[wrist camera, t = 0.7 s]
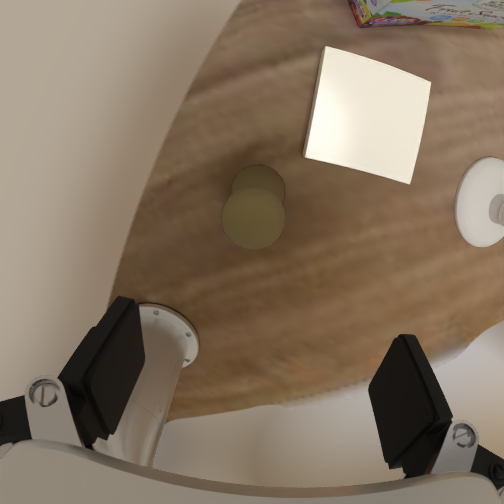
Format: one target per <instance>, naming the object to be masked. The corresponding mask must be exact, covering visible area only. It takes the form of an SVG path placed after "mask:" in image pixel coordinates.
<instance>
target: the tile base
mask: <svg viewBox="0 0 504 504" xmlns="http://www.w3.org/2000/svg"><path fill="white" fill-rule="evenodd" d="M430 86H431V82H429V81H426V80H424V79H422V78H420V77H417V76H415V75H412V74H410V73H408V72H405V71H403V70H400V69H397V68H395V67H392V66H389V65H387V64H384V63H381V62H378V61H375V60H372V59H369V58H366V57H363V56H360V55H356V54H353V53H349V52H346V51H342V50H339V49H335V48H331V47H327V46H326V47H325V48H324V49H323V50H322V53H321V59H320V64H319V70H318V76H317V81H316V87H315V92H314V98H313V103H312V109H311V114H310V119H309V124H308V130H307V135H306V140H305V145H304V150H303V156H304V157H306V158H311V159H315V160H320V161H324V162H329V163H333V164H337V165H341V166H345V167H349V168H353V169H357V170H361V171H365V172H369V173H372V174H376V175H380V176H383V177H387V178H390V179H394V180H397V181H400V182H404V183H407V184H410V182H411V178H412V174H413V170H414V166H415V162H416V158H417V154H418V150H419V145H420V141H421V136H422V131H423V126H424V121H425V116H426V110H427V105H428V99H429V93H430Z"/></svg>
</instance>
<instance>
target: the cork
mask: <svg viewBox="0 0 504 504" xmlns="http://www.w3.org/2000/svg"><path fill="white" fill-rule="evenodd" d="M284 197H285V185H284V182H283V180H282V178H281V176H280V175H279V174H278V173H277V172H276V171H275V170H273V169H272V168H270V167H268V166H264V165H251V166H249V167H246V168H244V169H242V170H241V171H240V172H239V173H238V174H237V175H236V177H235V178H234V180H233V182H232V187H231V196H230V197H229V198H228V200H227V202H226V203H225V205H224V207H223V211H222V215H221V218H222V226H223V229H224V231H225V233H226V235H227V237H228V238H229V239H230V240H231V241H232V242H233V243H234V244H236V245H238V246H240V247H242V248H246V249H250V250H254V249H262V248H265V247H268V246H269V245H271V244H272V243H274V242H275V241H276V240H277V239H278V237H279V236H280V234H281V233H282V231H283V228H284V225H285V211H284V208H283V206H282V203H283V200H284Z"/></svg>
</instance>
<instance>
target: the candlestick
mask: <svg viewBox="0 0 504 504" xmlns="http://www.w3.org/2000/svg"><path fill="white" fill-rule="evenodd" d="M454 215H455V221H456V225H457V228H458V230H459V232H460V234H461V236H462V237H463V238H464V239H465V240H466V241H467V242H468V243H470V244H472V245H474V246H477V247H487V246H490V245H492V244H494V243H496V242H497V241H499V240H500V239H501V238H502V237H503V236H504V161H502V160H500V159H498V158H494V157H484V158H481V159H479V160H477V161H476V162H474V163H473V164H472V165H471V166H470V167H469V168H468V169H467V170H466V172H465V173H464V175H463V177H462V178H461V181H460V183H459V185H458V188H457V192H456V196H455V204H454Z"/></svg>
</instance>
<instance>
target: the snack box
mask: <svg viewBox="0 0 504 504" xmlns="http://www.w3.org/2000/svg"><path fill="white" fill-rule="evenodd" d="M349 2H350V5H351V7H352V10H353V12H354V15H355V17H356V20H357V23H358V25H359V27H360V28H363V27H376V26H391V25H443V26H458V27H469V28H478V29H485V30H491V29H495V28H500V27H504V0H349Z"/></svg>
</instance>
